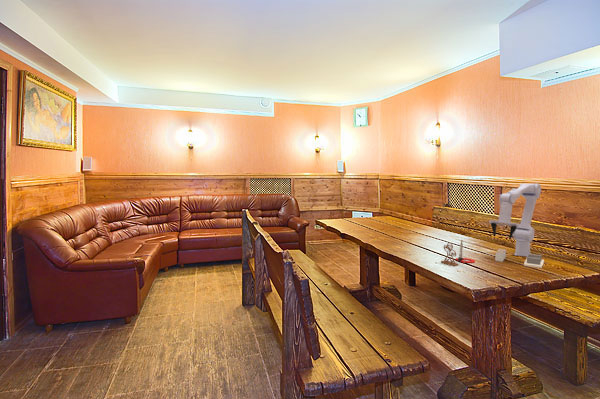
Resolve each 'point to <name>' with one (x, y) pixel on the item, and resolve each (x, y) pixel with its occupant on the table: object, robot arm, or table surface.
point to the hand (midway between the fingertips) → (502, 237)
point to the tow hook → (463, 258)
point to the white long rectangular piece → (500, 255)
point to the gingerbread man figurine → (449, 255)
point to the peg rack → (534, 261)
